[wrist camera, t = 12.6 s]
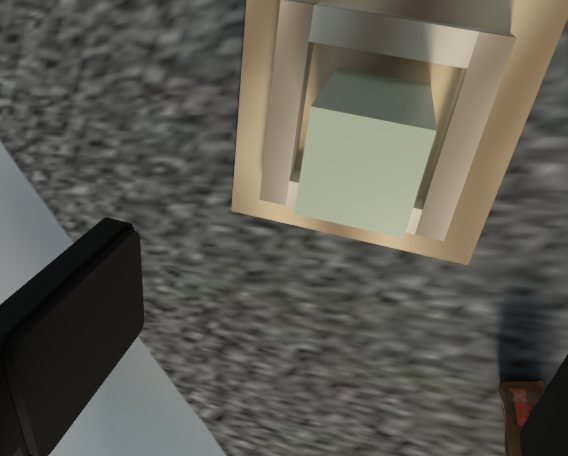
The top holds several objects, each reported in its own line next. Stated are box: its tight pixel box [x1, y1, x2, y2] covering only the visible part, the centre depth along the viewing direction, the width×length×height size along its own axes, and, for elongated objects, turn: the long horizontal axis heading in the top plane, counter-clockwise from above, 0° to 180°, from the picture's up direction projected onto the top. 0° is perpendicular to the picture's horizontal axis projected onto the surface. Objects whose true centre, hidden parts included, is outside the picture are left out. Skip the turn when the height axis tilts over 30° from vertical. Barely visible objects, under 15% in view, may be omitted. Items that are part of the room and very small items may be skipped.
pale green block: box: [294, 68, 437, 239], centre depth 21 cm, size 4×4×7 cm
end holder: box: [232, 0, 568, 265], centre depth 24 cm, size 14×14×2 cm
